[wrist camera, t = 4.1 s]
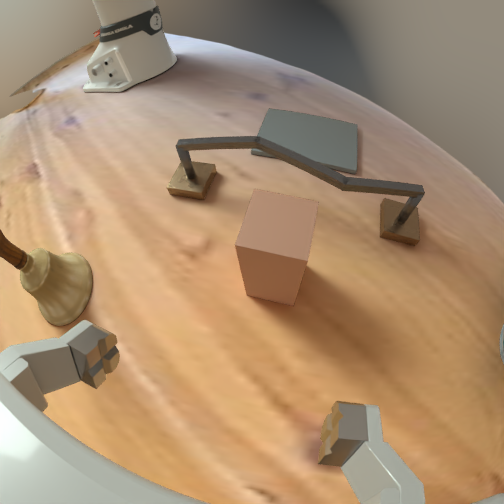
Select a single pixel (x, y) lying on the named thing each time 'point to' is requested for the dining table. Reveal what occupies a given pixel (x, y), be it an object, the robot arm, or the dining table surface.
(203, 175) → the zigzag wire
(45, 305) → the hand bell
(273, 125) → the slate tile
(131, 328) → the dining table surface
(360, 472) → the robot arm
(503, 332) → the chinaware
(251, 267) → the brick block
